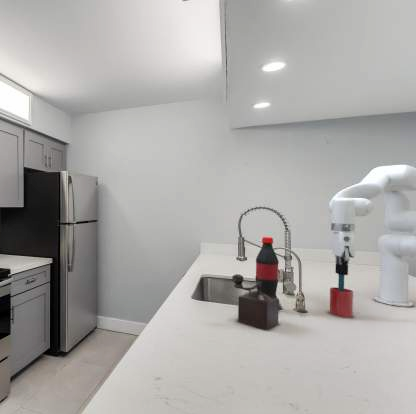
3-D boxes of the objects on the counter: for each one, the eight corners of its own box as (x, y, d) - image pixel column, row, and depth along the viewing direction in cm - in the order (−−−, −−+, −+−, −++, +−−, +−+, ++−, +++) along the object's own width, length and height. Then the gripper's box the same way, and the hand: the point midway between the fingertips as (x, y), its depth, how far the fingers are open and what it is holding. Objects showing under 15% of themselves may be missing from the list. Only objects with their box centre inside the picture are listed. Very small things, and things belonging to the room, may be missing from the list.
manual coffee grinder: (248, 315, 122) (249, 269, 122) (279, 324, 114) (280, 274, 114) (228, 324, 112) (229, 274, 112) (260, 334, 104) (261, 280, 104)
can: (332, 310, 131) (333, 286, 131) (354, 315, 125) (355, 290, 125) (326, 313, 127) (327, 289, 127) (349, 319, 121) (350, 293, 121)
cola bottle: (275, 306, 134) (276, 236, 134) (279, 312, 126) (281, 238, 126) (253, 304, 137) (254, 235, 137) (256, 310, 129) (258, 237, 129)
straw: (338, 294, 127) (339, 259, 127) (344, 295, 126) (345, 260, 126) (337, 294, 126) (338, 260, 126) (343, 295, 125) (343, 260, 125)
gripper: (362, 229, 117) (361, 279, 117) (346, 228, 132) (345, 271, 132) (338, 228, 120) (337, 276, 120) (325, 227, 135) (324, 269, 135)
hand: (341, 273), depth 126 cm, fingers closed on straw, 1 cm apart
